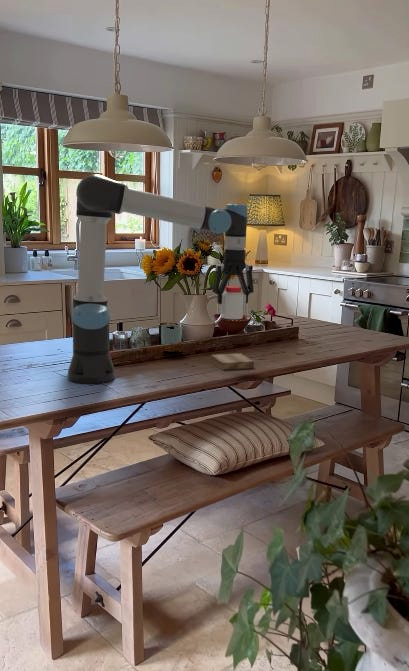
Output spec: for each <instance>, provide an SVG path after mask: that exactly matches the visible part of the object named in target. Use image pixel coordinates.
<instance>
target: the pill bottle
mask: <svg viewBox="0 0 409 671" xmlns="http://www.w3.org/2000/svg"><path fill="white" fill-rule="evenodd" d="M222 295H225V298H224V314H222V313H220V315H221V316H220V318H222V319H226V320H241V319H243V316H244V313H243V301H244V293H243V291H242V288H241V286H237V285H226V287H225V290H224V292H223V294H222Z"/></svg>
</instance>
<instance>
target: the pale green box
mask: <svg viewBox="0 0 409 671" xmlns="http://www.w3.org/2000/svg"><path fill="white" fill-rule="evenodd" d="M171 326H173V327H174V329H170V328H167V327H171ZM160 329H161V334H160V338H161V340H160V341H161V345H162V344H170V343H178V342H181V343H182V326H181V325H178V324H164V325H161V328H160Z"/></svg>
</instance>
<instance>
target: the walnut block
mask: <svg viewBox="0 0 409 671" xmlns="http://www.w3.org/2000/svg"><path fill="white" fill-rule="evenodd" d="M210 362H211V364H213V365H215V366H217V367H218V368H219V369H220V370H222V371H223V370H237V369H253V367H254V366H255V365H254V364H255V360H252V358H249V357H248V356H246V355H244V354H243V353H241V352H239V353H226V354H225V353H223V354H221V353H220V354H211V355H210Z"/></svg>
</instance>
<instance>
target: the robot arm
mask: <svg viewBox="0 0 409 671" xmlns="http://www.w3.org/2000/svg"><path fill="white" fill-rule="evenodd" d="M75 194H76V212H75V213H76V215H75V216H76V217H77V218H78V219H79V221H80V228H79V229H80V230H79V231H80V232H79V253H78V254H79V256H78V283H77V293H76V294H75V295H74V296H73V297H72V313H71V317H70V318H71V319H70V320H71V325H72V357H71V361H70V364H69V367H68V368H67V369H68V370H67V379H68V380H69V381H70V382H73V383H78V384H87V385H88V384H100V383H101V384H103V383H108V382H110V381H112V380H114V379H115V378H116V375H115V374H116V370H115V367H114V364H113V361H112V358H111V355H110V319H111V315H110V310H109V308H108V302H109V301H108V298H107V297H106V296H105V294H104V289H105V288H104V287H105V267H106V252H107V250H106V246H107V230H108V229H107V228H108V222H110V221H111V220H112V217H113V214H116V215H121V214H122V213H127V214H132V215H135V216H140V217H144V218H145V217H146V218H149V219H153V220H158V221H162V222H163V221H164V222H168V223H172V224H176V225H179V226H180V225H181V226H186V227H188V228H189V227H190V228H192V230H193V231H196V232H210V233H214V234H218V235H220V234H224V245H223V247H224V248H225V249H224V251H223V254H224V255H223V263H222V264H216V265H215V266H214V268H215V275H214V281H213V285H212V286H213V287H212V293H214V294H216V295H217V296H216V298H217V299H216V301H217V304H218V305H219V306H218V308H219V310H218V312H219V313H220V314H221V313H222V314H224V298H225V295H222V294H223V293H224V292H225V291H226V286H228V282H229V280H230V279H231V277H232V276H237V278H238V281H239V285H240V287H241V292H242V293H243V294H244V301H243V314H245V313H246V304H248V303H249V296H250V294H253V293H254V280H253V268H254V265H252V264H251V265H250V264H246V246H247V228H248V206H247V205H246V204H242V203H241V204H240V203H237V204H236V203H227V204H226V206H225V208H224V209H221V208H214V207H210V206H206V205H202V204H198V203H195V202H189V201H185V200H181V199H177V198H173V197H169V196H164V195H162V194H161V195H159V194H157V193H152V192H148V191H143V190H140V189H135V188H131V187H128V185H127V183H124V182H121V181H116V180H114V179H111V178H109V177H107V176H104V175H102V174H96V173H94V174H90V175H87V176H85V177H84V178H82V179H81V180H80V181H79V183H78V185H77V187H76V192H75ZM224 270H225V271H224ZM244 270H245V274H246V276H244V275H245V274H244ZM222 271H224V274H223V278H221V277H222V273H223V272H222ZM245 277H246V280H245ZM221 279H222V280H221Z"/></svg>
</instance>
